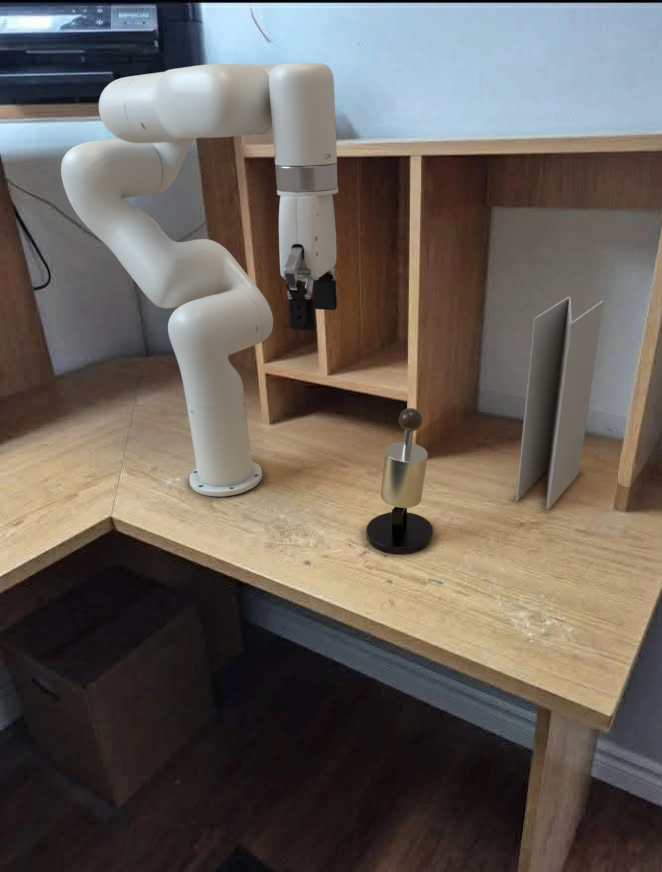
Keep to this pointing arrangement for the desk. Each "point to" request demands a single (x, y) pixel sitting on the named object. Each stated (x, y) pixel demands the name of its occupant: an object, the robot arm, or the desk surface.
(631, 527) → the desk surface
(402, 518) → the holder base
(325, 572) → the desk surface
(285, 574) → the desk surface
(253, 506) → the desk surface
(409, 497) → the knobbed metal cylinder
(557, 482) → the brochure
